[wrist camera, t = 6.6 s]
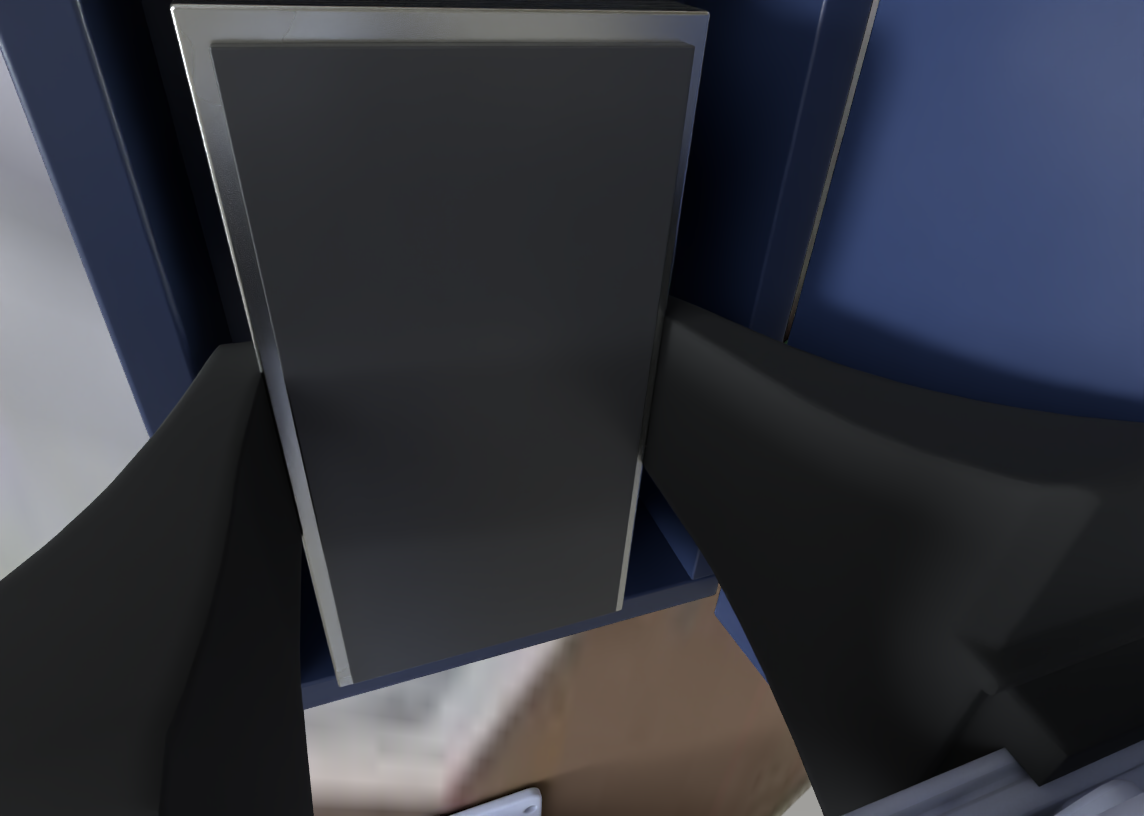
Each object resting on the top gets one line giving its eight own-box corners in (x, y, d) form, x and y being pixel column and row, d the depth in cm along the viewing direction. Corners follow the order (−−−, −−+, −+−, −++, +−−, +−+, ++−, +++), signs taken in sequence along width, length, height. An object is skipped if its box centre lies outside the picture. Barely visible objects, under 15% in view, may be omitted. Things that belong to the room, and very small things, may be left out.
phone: (572, 511, 15) (626, 619, 13) (325, 566, 14) (339, 699, 12) (610, -18, 10) (721, 13, 7) (189, -29, 8) (163, 6, 6)
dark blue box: (256, 550, 17) (258, 724, 13) (8, -259, 8) (-159, -355, 5) (635, 471, 20) (716, 595, 16) (727, -179, 12) (929, -205, 8)
